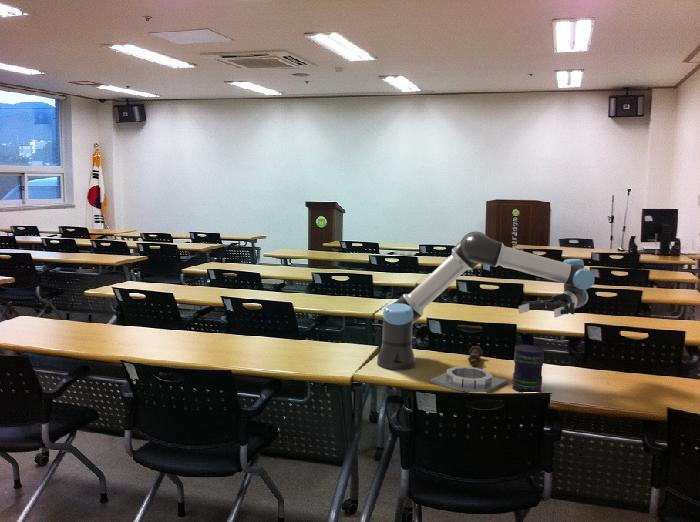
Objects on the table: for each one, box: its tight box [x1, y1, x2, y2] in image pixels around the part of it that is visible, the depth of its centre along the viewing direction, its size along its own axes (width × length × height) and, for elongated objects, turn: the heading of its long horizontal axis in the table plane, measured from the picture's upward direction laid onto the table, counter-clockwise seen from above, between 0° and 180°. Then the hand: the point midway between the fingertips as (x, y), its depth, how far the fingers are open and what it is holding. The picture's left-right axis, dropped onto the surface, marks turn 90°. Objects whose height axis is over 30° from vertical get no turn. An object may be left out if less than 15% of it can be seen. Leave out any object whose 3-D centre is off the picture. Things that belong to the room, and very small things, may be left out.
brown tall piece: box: [467, 345, 484, 367], centre depth 232 cm, size 6×5×15 cm
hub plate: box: [429, 366, 508, 393], centre depth 206 cm, size 20×20×4 cm
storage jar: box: [512, 344, 545, 393], centre depth 200 cm, size 10×10×15 cm
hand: (536, 311), depth 204 cm, fingers open, 13 cm apart
